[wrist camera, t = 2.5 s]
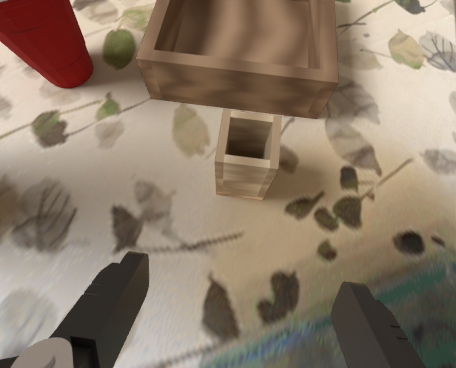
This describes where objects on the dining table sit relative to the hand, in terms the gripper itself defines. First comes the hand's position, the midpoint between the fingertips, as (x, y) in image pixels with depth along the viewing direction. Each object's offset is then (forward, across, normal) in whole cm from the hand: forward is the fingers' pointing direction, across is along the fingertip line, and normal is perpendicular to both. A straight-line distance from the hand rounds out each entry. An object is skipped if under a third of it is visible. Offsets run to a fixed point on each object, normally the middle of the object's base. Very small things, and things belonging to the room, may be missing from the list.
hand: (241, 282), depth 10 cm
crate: (+32, +2, -12) cm, 34 cm away
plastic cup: (+26, +24, -6) cm, 36 cm away
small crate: (+18, 0, +2) cm, 18 cm away
